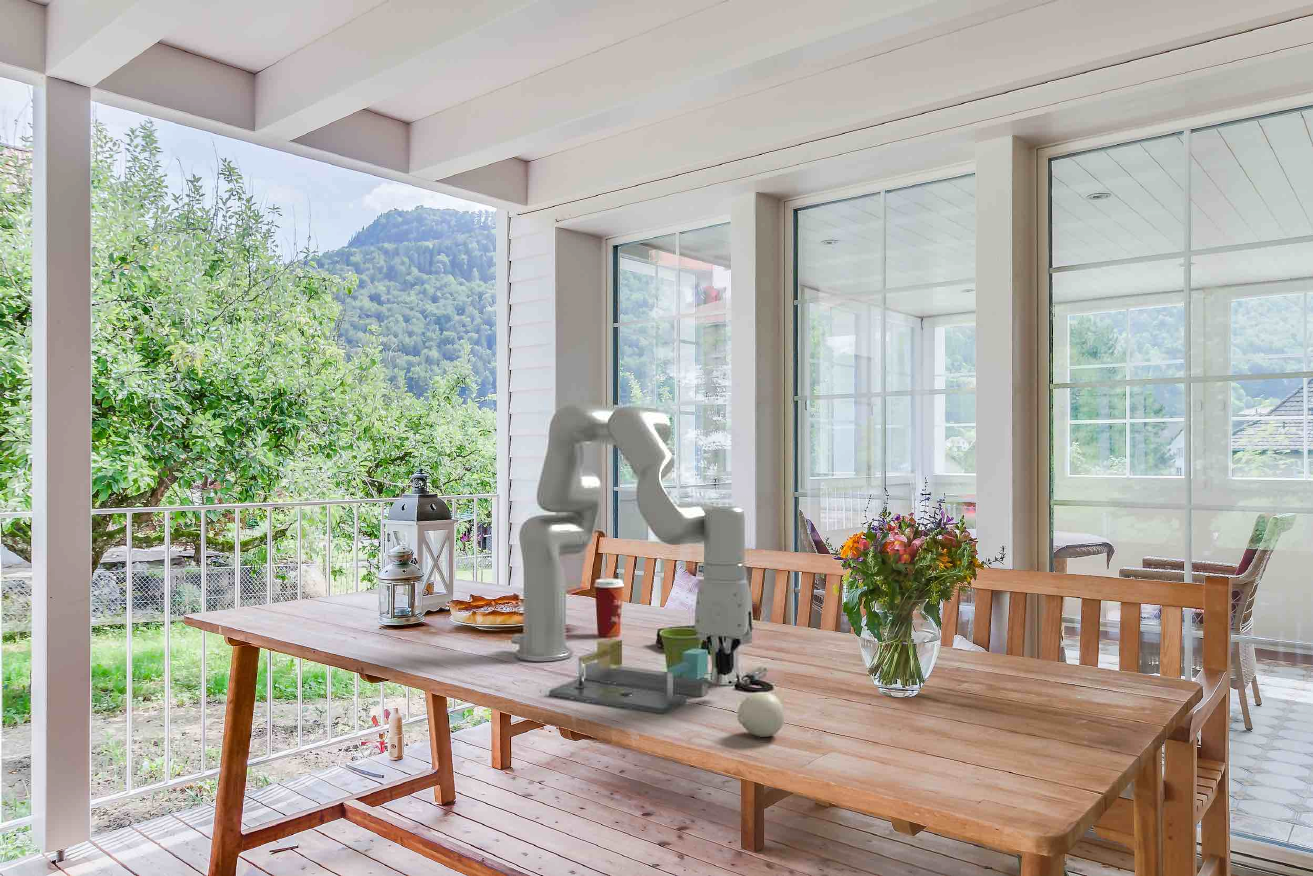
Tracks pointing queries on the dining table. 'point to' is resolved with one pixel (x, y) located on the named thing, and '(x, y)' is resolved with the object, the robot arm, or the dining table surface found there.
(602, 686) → the hole plate
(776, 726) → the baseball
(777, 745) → the dining table surface
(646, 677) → the rail
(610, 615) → the paper cup
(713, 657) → the beer glass
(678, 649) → the plant pot
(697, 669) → the sliding leg
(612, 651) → the fixed leg
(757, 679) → the black c clamp
